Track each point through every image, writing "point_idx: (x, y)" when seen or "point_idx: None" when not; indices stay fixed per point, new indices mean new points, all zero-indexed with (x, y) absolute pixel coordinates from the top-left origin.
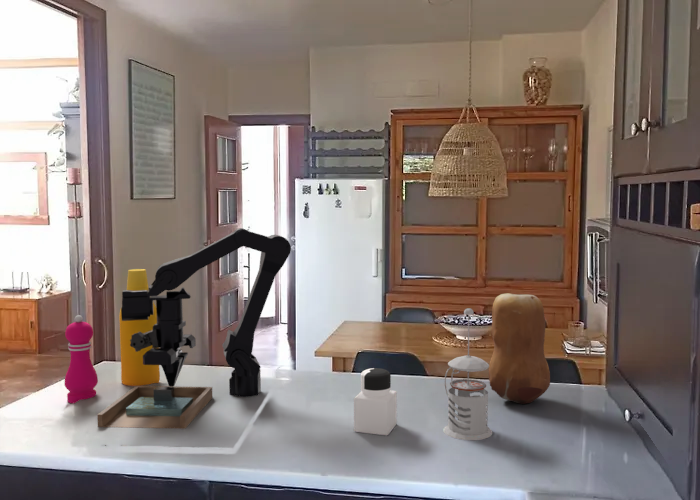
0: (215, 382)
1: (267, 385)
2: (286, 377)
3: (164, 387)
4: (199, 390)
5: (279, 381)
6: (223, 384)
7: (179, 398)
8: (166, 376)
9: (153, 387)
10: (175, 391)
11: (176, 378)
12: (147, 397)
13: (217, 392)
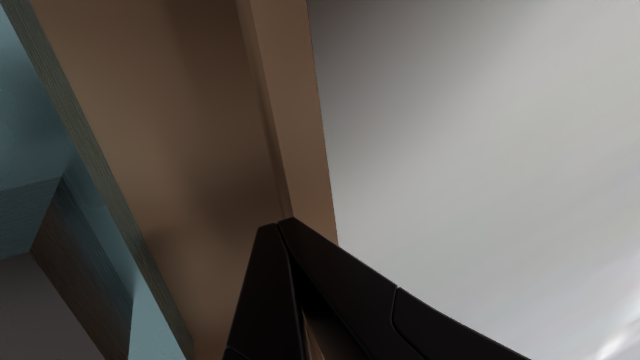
0: (636, 160)
1: (546, 351)
2: (622, 344)
3: (63, 330)
4: (318, 352)
5: (583, 353)
6: (593, 212)
7: (141, 332)
8: (238, 316)
9: (253, 21)
10: (288, 217)
11: (310, 328)
12: (14, 68)
13: (474, 258)
